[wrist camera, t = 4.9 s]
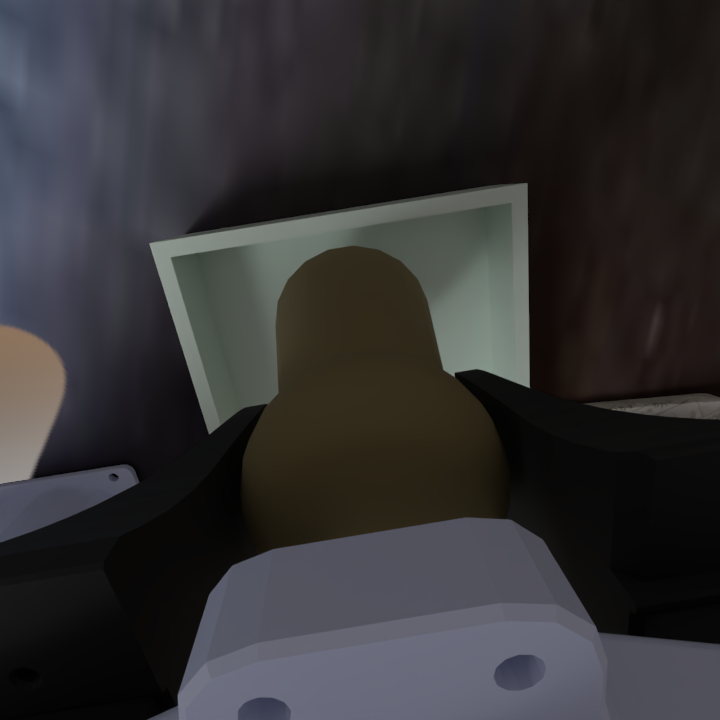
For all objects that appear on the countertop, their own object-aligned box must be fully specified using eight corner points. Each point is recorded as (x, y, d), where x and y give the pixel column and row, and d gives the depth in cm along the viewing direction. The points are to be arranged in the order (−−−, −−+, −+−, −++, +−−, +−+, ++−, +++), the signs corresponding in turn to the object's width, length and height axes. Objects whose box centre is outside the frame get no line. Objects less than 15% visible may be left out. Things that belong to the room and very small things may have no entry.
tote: (285, 592, 28) (278, 654, 24) (184, 234, 20) (149, 243, 16) (505, 557, 28) (532, 614, 24) (490, 185, 20) (527, 182, 16)
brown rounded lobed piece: (372, 210, 15) (448, 301, 5) (457, 338, 18) (621, 568, 8) (242, 308, 17) (109, 529, 7) (337, 416, 19) (344, 703, 9)
